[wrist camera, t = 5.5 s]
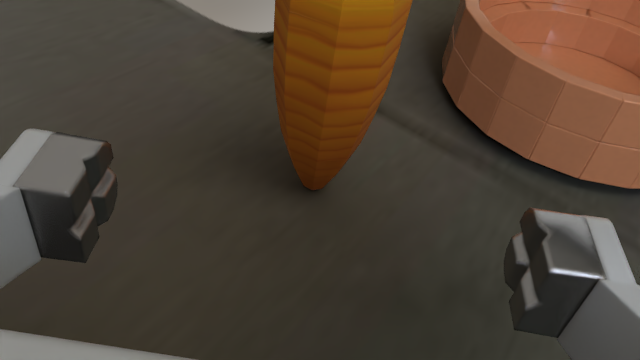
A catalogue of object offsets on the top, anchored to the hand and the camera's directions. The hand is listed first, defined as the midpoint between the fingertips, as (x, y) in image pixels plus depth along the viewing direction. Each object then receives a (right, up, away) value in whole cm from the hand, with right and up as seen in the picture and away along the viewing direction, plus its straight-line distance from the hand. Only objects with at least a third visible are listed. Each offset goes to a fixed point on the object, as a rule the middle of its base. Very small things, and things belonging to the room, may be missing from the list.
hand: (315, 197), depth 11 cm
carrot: (0, 0, +16) cm, 16 cm away
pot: (+16, +5, +25) cm, 30 cm away
